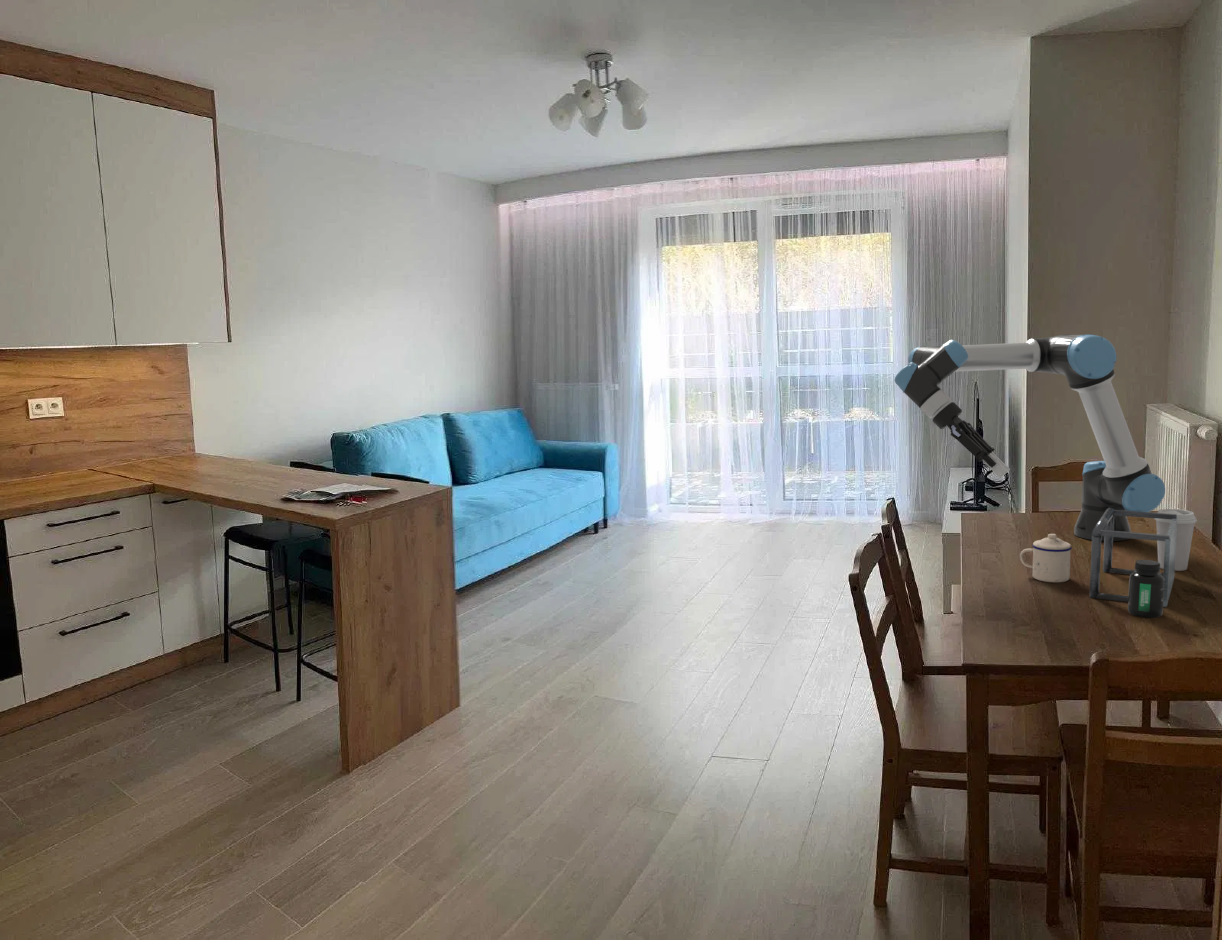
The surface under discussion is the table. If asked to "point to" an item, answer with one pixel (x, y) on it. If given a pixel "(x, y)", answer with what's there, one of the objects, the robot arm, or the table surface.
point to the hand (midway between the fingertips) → (1005, 473)
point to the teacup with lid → (1050, 559)
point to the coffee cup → (1183, 536)
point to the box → (1108, 533)
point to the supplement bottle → (1146, 590)
